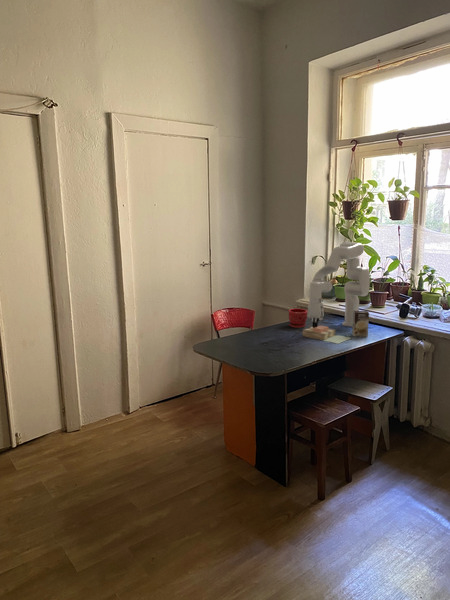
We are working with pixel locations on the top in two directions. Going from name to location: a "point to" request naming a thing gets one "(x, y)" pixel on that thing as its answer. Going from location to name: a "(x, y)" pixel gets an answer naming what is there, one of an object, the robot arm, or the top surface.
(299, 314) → the plant pot
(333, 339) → the mat
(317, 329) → the salmon brown flat block
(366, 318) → the coffee box
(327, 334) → the deck
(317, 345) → the top surface
